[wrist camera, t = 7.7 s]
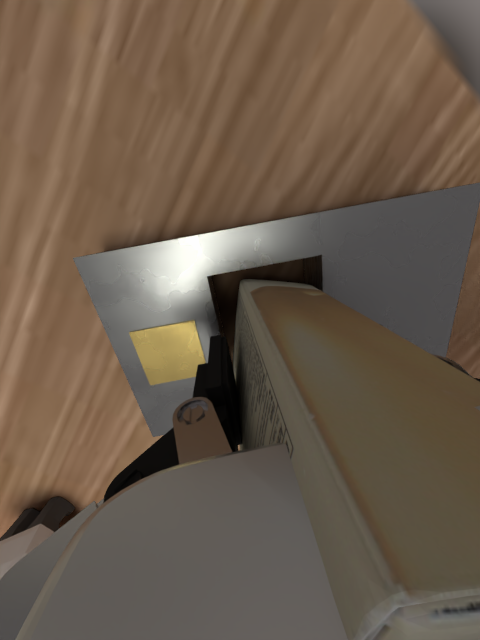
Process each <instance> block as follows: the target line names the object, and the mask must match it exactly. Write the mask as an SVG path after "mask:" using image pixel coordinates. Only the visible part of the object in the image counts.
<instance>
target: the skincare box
mask: <svg viewBox="0 0 480 640" xmlns="http://www.w3.org/2000/svg"><path fill="white" fill-rule="evenodd" d="M233 371H234V376H235V380H236V387H237V397H238V407H239V417H240V427H241V437H242V444H240V450H245V449H250V448H255V447H260V446H265V445H270V444H275V443H285V444H286V446H287V449H288V452H289V456H290V459H291V462H292V465H293V469H294V472H295V475H296V478H297V481H298V484H299V488H300V491H301V494H302V497H303V500H304V503H305V507H306V510H307V513H308V516H309V519H310V522H311V526H312V529H313V532H314V535H315V538H316V542H317V545H318V548H319V551H320V555H321V558H322V561H323V564H324V567H325V571H326V574H327V577H328V581H329V584H330V587H331V590H332V594H333V597H334V600H335V603H336V606H337V609H338V612H339V615H340V618H341V620H342V623H343V626H344V629H345V632H346V635H347V638H348V640H480V411H479V410H478V409H476V408H475V407H477V406H480V382H479V381H477V380H476V379H474V378H472V377H470V376H469V375H467V374H465V373H463V372H462V371H460V370H458V369H456V368H454V367H453V366H451V365H449V364H448V363H446V362H444V361H443V360H441V359H439V358H437V357H435V356H434V355H432V354H430V353H428V352H426V351H425V350H423V349H421V348H420V347H418V346H416V345H415V344H413V343H411V342H409V341H408V340H406V339H404V338H402V337H400V336H399V335H397V334H395V333H394V332H392V331H390V330H389V329H387V328H385V327H383V326H381V325H380V324H378V323H376V322H375V321H373V320H371V319H370V318H368V317H366V316H364V315H362V314H361V313H359V312H357V311H355V310H354V309H352V308H350V307H348V306H347V305H345V304H343V303H341V302H340V301H338V300H336V299H334V298H333V297H331V296H329V295H327V294H326V293H324V292H322V291H321V290H319V289H317V288H315V287H314V286H312V285H309V284H301V283H292V282H282V281H270V280H256V279H243V280H241V281H240V285H239V293H238V302H237V312H236V323H235V336H234V351H233Z"/></svg>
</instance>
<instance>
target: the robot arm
mask: <svg viewBox="0 0 480 640" xmlns="http://www.w3.org/2000/svg"><path fill="white" fill-rule="evenodd" d="M432 355H433V354H432ZM434 356H435V357H437V358H439V359H441V360H443V361H444V362H446V363H448V364H449V365H451V366H453V367H454V368H456V369H458V370H460V371H462V372H463V373H465V374H467V375H469V374H468V373H467V372H466V371H465V370H464V369H463V368H462V367H461V366H460V365H459V364H457V363H456V362H454V361H452V360H450V359H448V358H446V357H442V356H439V355H434ZM469 376H470V375H469ZM470 377H472V376H470ZM472 378H473V377H472ZM474 379H476V380H477V381H479V382H480V379H477V378H474ZM475 408H476V409H478V410H479V411H480V406H477V407H475ZM172 421H173V428H172V429H171V430H170V431H168V432H167V433H166V434H165V435H164V436H162V437H161V438H160V439H159V440H158V441H157V442H155V443H154V444H153V445H152V446H151V447H150V448H148V449H147V450H146V451H145V452H144V453H143V454H141V455H140V456H139V457H138V458H137V459H136V460H134V461H133V462H132V463H131V464H130V465H129V466H127V467H126V468H125V469H124V470H123V471H122V472H120V473H119V474H118V475H117V477H116V478H115V479H114V480H113V481H112V482H111V484H110V485H109V487H108V489H107V491H106V493H105V496H104V499H102V500H101V501H100V502H99V503H97V504H96V502H95V501H93V502H92V503H91V504H90V505H88V506H87V507H86V508H85V509H83V510H82V511H81V512H80V513H78V514H77V515H76V516H75V517H73V518H72V519H71V520H70V521H68V522H67V523H66V524H65V525H63V526H62V527H61V528H60V529H58V530H57V531H56V532H54V533H53V534H52V535H51V536H49V537H48V538H47V539H46V540H44V541H43V542H42V543H41V544H39V545H38V546H37V547H36V548H34V549H33V550H32V551H31V552H29V553H28V554H27V555H26V556H24V557H23V558H22V559H21V560H19V561H18V562H17V563H16V564H15V565H14V566H13V567H12V568H11V569H9V570H8V571H7V572H6V573H5V574H4V576H3V577H2V578H1V579H0V640H348V638H347V635H346V632H345V629H344V626H343V623H342V620H341V618H340V615H339V612H338V609H337V606H336V603H335V600H334V597H333V594H332V590H331V587H330V584H329V581H328V577H327V574H326V571H325V567H324V564H323V561H322V558H321V555H320V551H319V548H318V545H317V542H316V538H315V535H314V532H313V529H312V526H311V522H310V519H309V516H308V513H307V510H306V507H305V503H304V500H303V497H302V494H301V491H300V488H299V484H298V481H297V478H296V475H295V472H294V469H293V465H292V462H291V459H290V456H289V452H288V449H287V446H286V444H285V443H275V444H270V445H265V446H260V447H255V448H250V449H245V450H240V451H238V445H240V444H242V437H241V427H240V417H239V407H238V397H237V387H236V380H235V376H234V371H233V367H232V362H231V357H230V353H229V348H228V344H227V339H226V337H222V335H216V336H211V337H210V345H209V355H208V363H204V364H199V365H198V367H197V372H196V379H195V385H194V391H193V397H192V398H191V399H188V400H186V401H184V402H183V403H181V404H180V405H179V406H178V407H177V408H176V410H175V411H174V413H173V419H172Z"/></svg>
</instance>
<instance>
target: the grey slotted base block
mask: <svg viewBox="0 0 480 640" xmlns="http://www.w3.org/2000/svg"><path fill="white" fill-rule="evenodd" d="M479 202H480V183H475V184H469V185H463V186H457V187H452V188H446V189H440V190H435V191H429V192H424V193H418V194H413V195H407V196H402V197H397V198H391V199H386V200H381V201H375V202H370V203H364V204H359V205H354V206H348V207H343V208H337V209H332V210H327V211H321V212H316V213H311V214H305V215H300V216H294V217H289V218H284V219H278V220H273V221H267V222H262V223H257V224H251V225H246V226H240V227H235V228H230V229H224V230H219V231H214V232H208V233H203V234H197V235H192V236H187V237H181V238H176V239H170V240H165V241H160V242H154V243H149V244H143V245H138V246H133V247H127V248H122V249H117V250H111V251H106V252H101V253H96V254H91V255H86V256H81V257H76V258H73V259H74V262H75V264H76V266H77V268H78V271H79V273H80V275H81V277H82V279H83V282H84V284H85V286H86V288H87V291H88V293H89V295H90V297H91V300H92V302H93V304H94V306H95V308H96V311H97V313H98V315H99V317H100V320H101V322H102V324H103V326H104V328H105V331H106V333H107V335H108V337H109V340H110V342H111V344H112V346H113V349H114V351H115V353H116V355H117V357H118V360H119V362H120V364H121V366H122V369H123V371H124V373H125V375H126V378H127V380H128V382H129V384H130V386H131V389H132V391H133V393H134V395H135V398H136V400H137V402H138V404H139V407H140V409H141V411H142V413H143V415H144V418H145V420H146V422H147V424H148V427H149V429H150V431H151V433H152V435H153V437H155V436H160V435H165V434H166V433H167V432H168V431H170V430H171V429H172V428H173V421H172V419H173V413H174V411H175V410H176V408H177V407H178V406H179V405H180V404H181V403H183V402H184V401H186V400H188V399H191V398H192V397H193V391H194V385H195V379H196V372H197V367H198V365H199V364H204V363H208V355H209V345H210V337H211V336H216V335H222V337H225V335H224V330H223V325H222V321H221V316H220V312H219V307H218V303H217V298H216V294H215V289H214V285H213V280H212V276H211V275H216V274H222V273H227V272H232V271H238V270H243V269H248V268H254V267H259V266H265V265H270V264H275V263H281V262H286V261H291V260H297V259H302V258H303V268H304V284H309V285H312V286H314V287H315V288H317V289H319V290H321V291H322V292H324V293H326V294H327V295H329V296H331V297H333V298H334V299H336V300H338V301H340V302H341V303H343V304H345V305H347V306H348V307H350V308H352V309H354V310H355V311H357V312H359V313H361V314H362V315H364V316H366V317H368V318H370V319H371V320H373V321H375V322H376V323H378V324H380V325H381V326H383V327H385V328H387V329H389V330H390V331H392V332H394V333H395V334H397V335H399V336H400V337H402V338H404V339H406V340H408V341H409V342H411V343H413V344H415V345H416V346H418V347H420V348H421V349H423V350H425V351H426V352H428V353H430V354H433V355H439V356H442V357H446V353H447V349H448V344H449V340H450V335H451V330H452V326H453V321H454V317H455V312H456V308H457V303H458V298H459V294H460V289H461V285H462V280H463V275H464V271H465V266H466V262H467V257H468V253H469V248H470V243H471V239H472V234H473V230H474V225H475V220H476V216H477V211H478V207H479Z"/></svg>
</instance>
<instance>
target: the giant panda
mask: <svg viewBox="0 0 480 640" xmlns="http://www.w3.org/2000/svg"><path fill="white" fill-rule="evenodd" d="M74 509H75V507H74V506H73V505H72V504H70V503H69V502H68V501H67V500H65V499H63V498H61V497H54V498H51V499H50V500H49V501H48V503H47V504H46V505H45V507H44V508H43V509H42V511H41V512H39V511H37V510H35V509H27V510H25V511H24V512H23V513H22V514H21V515H20V516H19V518H18V519H17V520H16V521H15V522H14V523H13V525H12V526H11V527H10V528H9V529H8V530H7V532H6V533H5V534H4V535H3V536H2V537H1V538H0V579H1V578H2V577H3V576H4V574H5V573H6V572H7V571H8V570H9V569H11V568H12V567H13V566H14V565H15V564H16V563H17V562H18V561H19V560H21V559H22V558H23V557H24V556H26V555H27V554H28V553H29V552H31V551H32V550H33V549H34V548H36V547H37V546H38V545H39V544H41V543H42V542H43V541H44V540H46V539H47V538H48V537H49V536H51V535H52V534H53V533H54V532H56V531H57V530H58V529H59V523H60V522H61V520H62V519H63V517H64V516H68V515H69V514H70V513H72V511H73V510H74Z"/></svg>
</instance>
